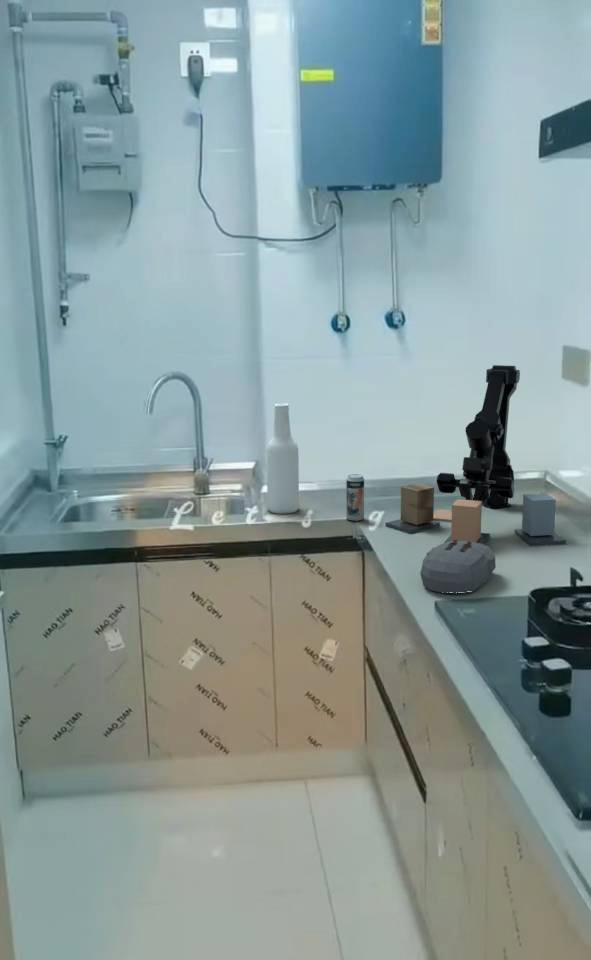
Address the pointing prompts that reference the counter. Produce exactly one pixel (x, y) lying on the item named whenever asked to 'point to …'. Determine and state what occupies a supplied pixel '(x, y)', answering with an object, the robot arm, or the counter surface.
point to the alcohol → (282, 465)
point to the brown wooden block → (417, 503)
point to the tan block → (466, 520)
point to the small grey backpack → (457, 566)
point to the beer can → (355, 497)
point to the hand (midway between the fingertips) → (469, 514)
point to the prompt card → (443, 515)
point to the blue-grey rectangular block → (538, 514)
